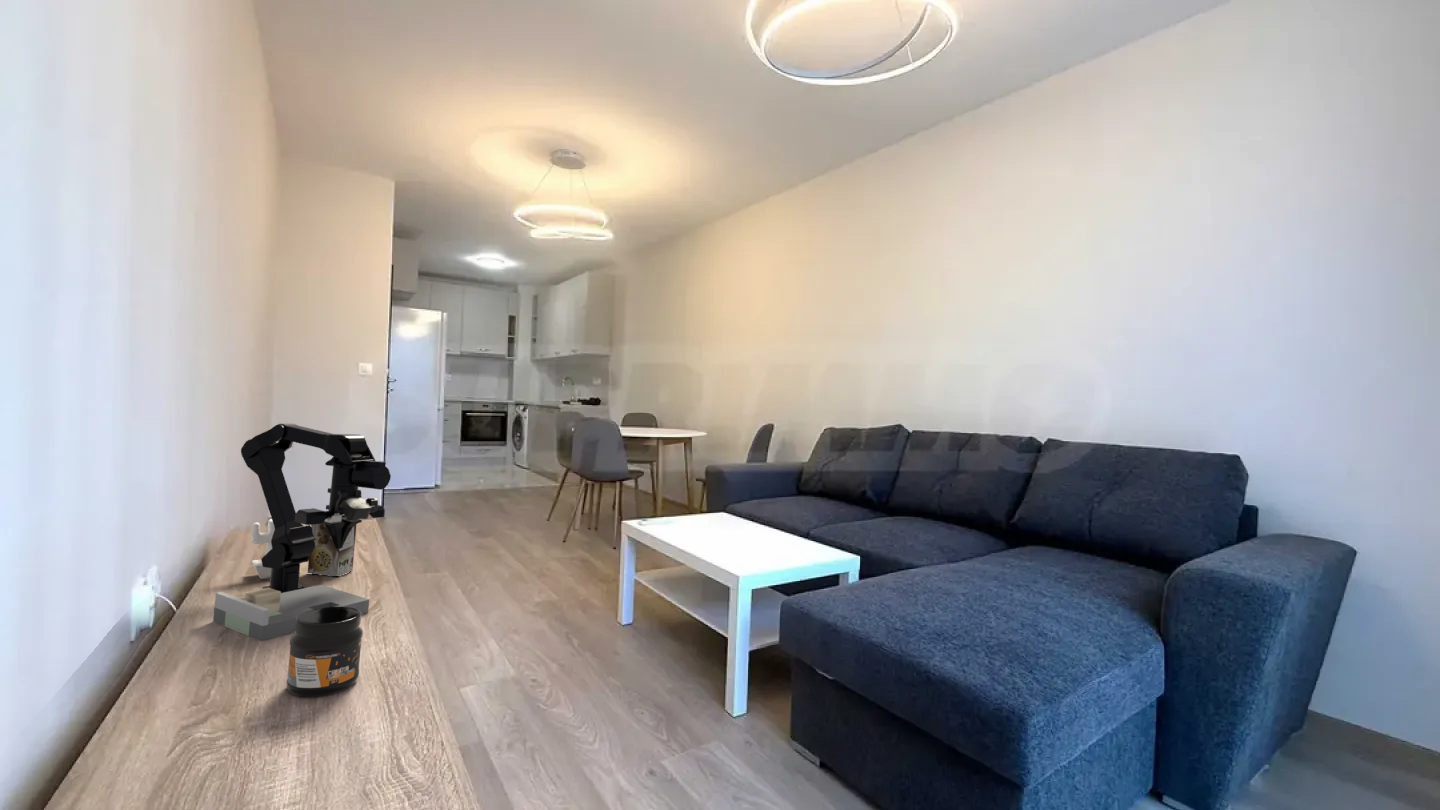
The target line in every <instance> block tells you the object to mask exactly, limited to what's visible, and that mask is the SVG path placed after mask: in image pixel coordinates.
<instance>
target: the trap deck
mask: <svg viewBox="0 0 1440 810" xmlns="http://www.w3.org/2000/svg"><path fill="white" fill-rule="evenodd" d="M326 607H351V608H355V609H358V610H359V611H360V612H361V615H364V614H368V613H369V607H370V599H368V598H366V597H362V596H359V595H356V594H352V593H349V592H347V591H344V590H341V589H336V588H334V587H330V586H327V585H325V584H318V585H313V586H309V587H304V588H303V589H298V590H294V591H289V592H284V593H281V596H280V606H279V611H275V612H271V613H269V609H267V608H264V607H261V606H258V605H256V604H253V603H250V602H248V601H245V600H244V599H241V598H240V597H236V596H233V595H231V594H228V593H226V592H223V591H219V592H215V598H214V610H213V621H212V622H214V623H216V624H219V625H220V626H224V627H226V628H228V629H230V630H232V631H234V632H235V631H236V632H237V633H240V634H243V635H245V636H247V637H250V638H252V639H255V640H257V641H259V642H264V641H267V640H271V639H275V638H279V637H283V636H286V635H289V634H293V633H294V634H295V633H296V631H295V622H296V618H297V617H298V616H299V615H301V614H303V613H305V612H308V611H311V610H315V609H319V608H326Z"/></svg>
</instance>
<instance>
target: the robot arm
mask: <svg viewBox="0 0 1440 810" xmlns="http://www.w3.org/2000/svg"><path fill="white" fill-rule="evenodd" d="M293 443H296V444H297V443H298V444H301V445H305V446H309V447H314V448H316V449H317V448H318V449H320V450H322V451H324V452H325V454H326V455H328V456H329V455H330V456H331V459H329V460H327V461H326V462H325V464H324V465H325V466H330V467H332V473H331V474H332V475H331V483H330V488H327V493H328V494H330V495H329V504H325V510H321V509H318V508H315V507H314V508H313V507H312V508H301V509H298V510H297V511H296V509H295V506H294V504H293V499H292V497H291V493H290V490H289V487H288V484H287V481H286V478H285V475H284V473H283V467H284V464H285V460H286V454H285V453H286V451H288V450H289V449H291V447H293ZM240 454H241V457H242V459H243V461H244V463H245V464H246V467H247V468H248V469H250V470H251V471H252V472H254V473H255V475H257V477H258V480H259V483H260V486H261V489H262V492H263V495H264V499H265V501H266V504H267V505H266V506H267V508H268V511H269V514H270V517H271V518H270V519H272V521H273V524H274V527H275V530H274V533H273V536H272V539H271V544H272V549H271V550H270V551H269V552H268V553H267V554H266V553H265V555H264V556H263V557H261V559H260V560H262V565H263V567H266V568H271V577H270V578H269V579H270V580H269V585H266V586H263V587H262V589H264V588H271V589H274V590H277V591H280V592H281V593H285V592H289V591H294V590H299V589H304V588H305V586H304V585H303V584H300V582H299V581H300V569H301V568H300V567H301V565H300V564H303V563H307V562H308V561H309V558H310V556H311V553H312V552H313V549H314V548H315V542H314V540H316V538H315V537H314V535H313V532H312V527H311V525H313V524H322V523H324V524H325V525H326V527H327V529H328V531H329V533H330V535H331V538H332V540H333V543H334V545H335V547H336V549H341V548H342V546H343V544H344V542H345V540H346V538H347V536H348V534H349V533H350V531H351V529H352V528H353V527H354V526H355V525H356V526H357V525H358V524H359V523H362V522H363V520H367V519H368V518H369V516H370V517H371V518H373V519H377V518H384V517H385V515H386V514H385V513H386V509H385V507H384V506H383V505H381V504H379V499H378V498H377V497H367V498H363V497H362V490H361V489H359V488H363V489H364V488H365V489H374V490H384V489H385V488H386V487H387V486H388V485H389V483H390V481H391V477H392V476H391V472H390V469H389V468H388V467H387V466H386V461H382V460H380V461H378V460H377V461H376V459H375V457H374V455H373V453H372V451H371V449H370V447H369V445H368V443H367V440H366V437H365V436H364V435H362V434H351V433H350V434H349V433H343V434H342V433H331V432H328V431H322V430H318V429H314V428H309V427H306V426H301V425H298V424H296V423H278V424H276V425H274V426H272V428H270V429H268V430H266V431H263V432H261V433H259V434H257V435H255V436H254V437H252V438H251V439H248V440H246V441H245V442H244V444H243V445H242V447H241V449H240Z"/></svg>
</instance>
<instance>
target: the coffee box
mask: <svg viewBox="0 0 1440 810" xmlns="http://www.w3.org/2000/svg"><path fill="white" fill-rule="evenodd" d="M310 526H311V527H312V532H313V535H314V537H315V538H316V540H314V542H315V548H314V549H313V552H312V553H311V556H310V558H309V560H308V563H307V573H312V574H321V575H320V576H322V575H329V576H328V577H332V576H339V577H341V576H340V575H342V576H344V575H343V574H345V573H348V572H350V571H352V572H353V569H354V560H355V559H354V558H355V557H354V556H355V545H356V536H357V524H356V525H355V526H354V527H353V528H352V529H351V531H350V533H349V534H348V536H347V538H346V540H345V542H344V544H343V546H342V548H341V549H336V547H335V545H334V543H333V540H332V538H331V535H330V533H329V531H328V529H327V527H326V525H325V524H324V523H322V524H313V525H310ZM312 574H311V575H312ZM348 574H349V573H348ZM345 575H346V574H345Z"/></svg>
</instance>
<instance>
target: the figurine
mask: <svg viewBox="0 0 1440 810" xmlns="http://www.w3.org/2000/svg"><path fill="white" fill-rule="evenodd" d="M260 528H261V523H259V522H256V521H255V522H253V523H252V525H251V534H250V535H251V536H250V540H251V543H252V544H254V545H257V544H260V545H262V544H266V548H265V555H266V554H267V553H268V552H269V551H270V550H271V549H272V544H271V539H272V536H273V533H274V530H275V527H274V524H273V521H272V518H270V519H268V521H267V531H266V532H261V531H260V530H261V529H260ZM251 562H252V565H253V566H254V569H255V572H256V575H257V576H258V577H259V579H261V580H262V579H263V580H264V579H270V577H271V568H266V567H263V565H262V560H261V559H254V560H251Z"/></svg>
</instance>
